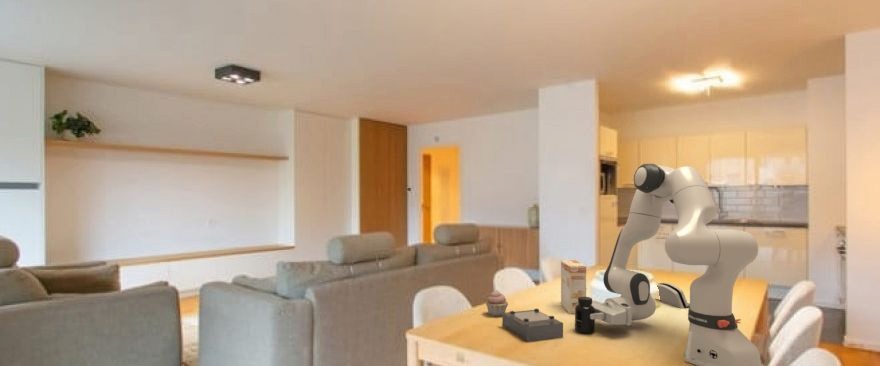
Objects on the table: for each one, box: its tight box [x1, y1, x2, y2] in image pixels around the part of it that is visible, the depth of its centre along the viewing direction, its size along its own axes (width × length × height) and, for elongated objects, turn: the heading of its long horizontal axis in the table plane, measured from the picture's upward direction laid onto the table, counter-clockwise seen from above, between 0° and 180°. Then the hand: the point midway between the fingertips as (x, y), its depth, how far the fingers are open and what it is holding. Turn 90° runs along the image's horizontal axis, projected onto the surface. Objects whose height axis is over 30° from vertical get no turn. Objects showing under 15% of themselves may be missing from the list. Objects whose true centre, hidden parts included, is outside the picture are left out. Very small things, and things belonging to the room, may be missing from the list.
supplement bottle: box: [574, 296, 596, 335], centre depth 168 cm, size 7×7×12 cm
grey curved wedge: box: [656, 282, 690, 309], centre depth 207 cm, size 17×5×10 cm, turn 11°
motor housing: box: [501, 308, 564, 343], centre depth 169 cm, size 21×14×6 cm, turn 19°
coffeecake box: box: [560, 259, 587, 315], centre depth 198 cm, size 15×7×20 cm, turn 179°
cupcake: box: [485, 289, 509, 318], centre depth 190 cm, size 9×9×10 cm
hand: (582, 313), depth 168 cm, fingers closed on supplement bottle, 7 cm apart
